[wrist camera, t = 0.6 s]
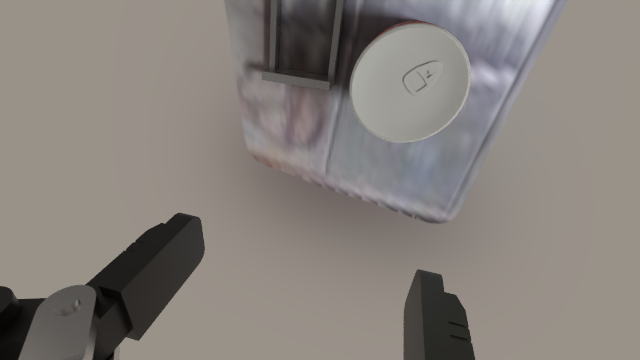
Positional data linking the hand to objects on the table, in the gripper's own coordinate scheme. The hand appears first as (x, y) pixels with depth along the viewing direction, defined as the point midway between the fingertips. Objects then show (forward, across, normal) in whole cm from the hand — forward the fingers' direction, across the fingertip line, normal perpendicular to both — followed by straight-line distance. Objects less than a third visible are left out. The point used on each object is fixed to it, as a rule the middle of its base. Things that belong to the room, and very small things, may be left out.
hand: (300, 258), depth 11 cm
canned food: (+25, -3, -3) cm, 25 cm away
